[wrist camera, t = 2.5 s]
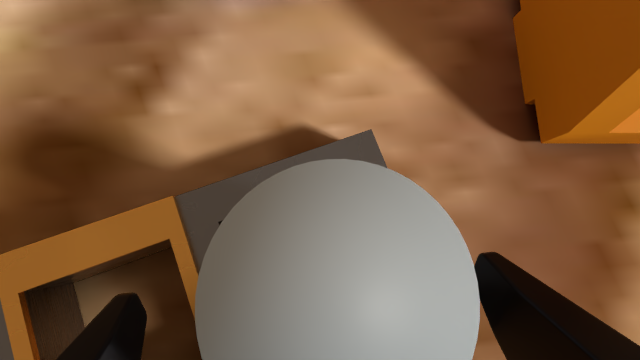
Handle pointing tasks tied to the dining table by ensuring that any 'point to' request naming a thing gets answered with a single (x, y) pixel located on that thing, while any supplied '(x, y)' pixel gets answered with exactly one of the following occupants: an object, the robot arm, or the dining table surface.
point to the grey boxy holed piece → (127, 252)
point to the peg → (337, 271)
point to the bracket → (581, 68)
